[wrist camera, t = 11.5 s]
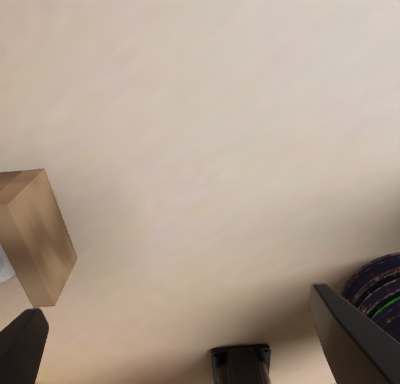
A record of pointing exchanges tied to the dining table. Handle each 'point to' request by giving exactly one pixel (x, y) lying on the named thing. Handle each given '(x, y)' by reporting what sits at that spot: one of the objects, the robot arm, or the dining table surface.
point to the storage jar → (378, 293)
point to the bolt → (5, 267)
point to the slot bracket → (35, 235)
